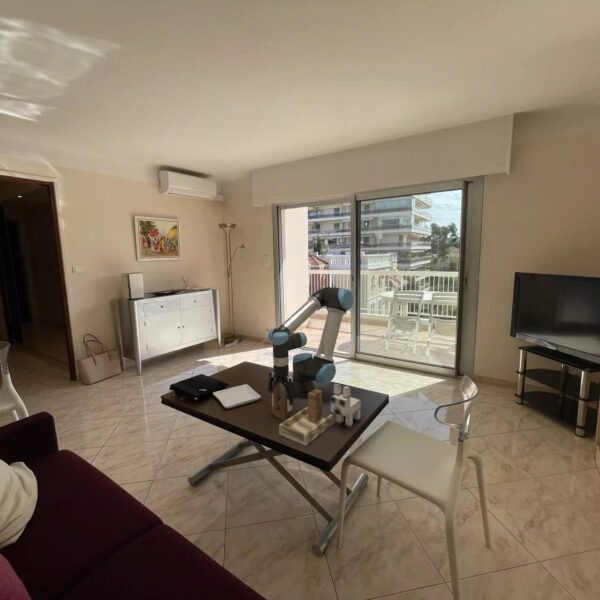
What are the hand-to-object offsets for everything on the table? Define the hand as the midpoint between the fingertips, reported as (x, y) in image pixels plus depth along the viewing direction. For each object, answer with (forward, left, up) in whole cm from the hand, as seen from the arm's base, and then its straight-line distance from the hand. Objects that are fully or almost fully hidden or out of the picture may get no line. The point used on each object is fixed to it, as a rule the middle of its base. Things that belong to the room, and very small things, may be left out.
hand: (281, 407), depth 158 cm
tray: (+1, +16, -5) cm, 17 cm away
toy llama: (-16, +28, -6) cm, 33 cm away
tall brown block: (-6, +16, -4) cm, 17 cm away
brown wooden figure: (0, -1, -5) cm, 6 cm away
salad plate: (-1, -34, -6) cm, 35 cm away
